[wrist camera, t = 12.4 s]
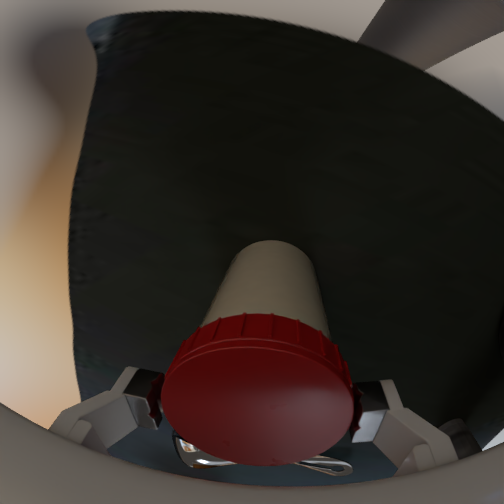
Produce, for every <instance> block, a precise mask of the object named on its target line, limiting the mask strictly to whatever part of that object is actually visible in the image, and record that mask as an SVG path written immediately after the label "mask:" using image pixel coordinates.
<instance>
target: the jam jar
mask: <svg viewBox="0 0 504 504" xmlns="http://www.w3.org/2000/svg"><path fill="white" fill-rule="evenodd" d="M243 312H246V313H247V314H250V313H262V314H271V313H274V315H279V316H284V317H288V318H291V319H295V320H297V319H299V320H300V322H303V323H305V324H307V325H309V326H311V327H313V328H314V329H316V330H318V331H319V330H321V331H322V333H323V335H325V336H326V337H327V338H328V339H329V340H330V341H331V342H332V343H333V341H332V336H331V332H330V328H329V323H328V319H327V315H326V310H325V306H324V302H323V298H322V294H321V290H320V286H319V282H318V278H317V274H316V271H315V268H314V266H313V264H312V262H311V261H310V259H309V258H308V257H307V256H306V254H304V253H303V252H302V251H301V250H300V249H298V248H297V247H295V246H293V245H291V244H288V243H285V242H281V241H274V240H269V241H261V242H257V243H254V244H251V245H249V246H247V247H246V248H244V249H243V250H241V251H240V252H239V253H238V254H237V255H236V256H235V257H234V259H233V260H232V262H231V264H230V266H229V268H228V270H227V272H226V274H225V276H224V278H223V280H222V282H221V284H220V286H219V288H218V290H217V292H216V294H215V296H214V299H213V301H212V303H211V305H210V307H209V309H208V311H207V313H206V315H205V317H204V319H203V321H202V323H201V326H200V328H202V327H203V326H205V325H207V324H209V323H211V322H213V321H216V320H217V319H218V318H219V317H221V318H225V317H228V316H232V315H239V314H243Z"/></svg>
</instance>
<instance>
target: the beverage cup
mask: <svg viewBox="0 0 504 504" xmlns="http://www.w3.org/2000/svg"><path fill="white" fill-rule="evenodd" d="M438 429H439V430H440V431H442V432H443V433H445V434H446V435H448V436H449V437H450V440H451V442H452V444H453V447H454V449H455V452H456V454H457V457H458V459H459V460H460V459H463V458H466V457H468V456H471V455H474V454H476V453H479V452H482V449H481V448H480V446H479V444H478V443H477V441H476V439H475V438H474V436H473V435H472V433H471V431H470V430H469V428H468V427H467V426H466V425H465V423H464V422H463V420H462V419H459V418H458V419H453V420H451V421H448V422H447V423H445V424H443V425H442V426H440V427H439V428H438Z"/></svg>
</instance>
